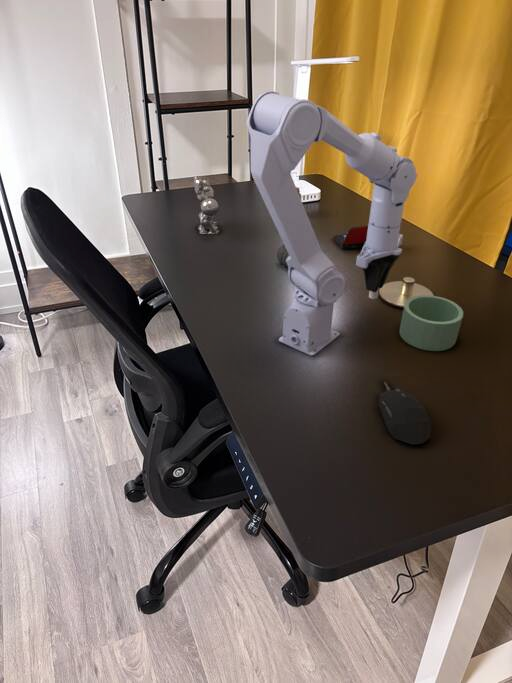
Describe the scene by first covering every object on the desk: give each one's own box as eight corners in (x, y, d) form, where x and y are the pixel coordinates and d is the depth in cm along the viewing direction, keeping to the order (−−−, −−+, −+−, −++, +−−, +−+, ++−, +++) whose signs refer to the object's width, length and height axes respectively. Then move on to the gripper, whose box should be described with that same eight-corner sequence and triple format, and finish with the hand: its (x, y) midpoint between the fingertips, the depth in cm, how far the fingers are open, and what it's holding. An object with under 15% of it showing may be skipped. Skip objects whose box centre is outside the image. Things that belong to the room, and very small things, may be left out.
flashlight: (274, 264, 124) (274, 243, 121) (293, 260, 126) (294, 239, 123) (305, 290, 112) (306, 268, 109) (325, 286, 114) (327, 264, 111)
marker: (374, 300, 100) (380, 263, 95) (366, 297, 101) (372, 261, 96) (379, 297, 101) (385, 260, 97) (371, 294, 102) (376, 257, 98)
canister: (442, 358, 92) (449, 330, 88) (389, 337, 97) (394, 310, 94) (464, 333, 98) (471, 307, 95) (413, 315, 104) (419, 289, 101)
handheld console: (373, 234, 139) (377, 208, 135) (391, 250, 131) (396, 223, 127) (331, 239, 137) (333, 212, 133) (346, 255, 128) (350, 227, 124)
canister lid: (418, 317, 103) (423, 298, 101) (368, 299, 109) (371, 281, 107) (441, 296, 111) (446, 278, 108) (393, 280, 117) (396, 262, 114)
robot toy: (223, 241, 135) (221, 186, 127) (200, 243, 134) (197, 187, 126) (215, 221, 147) (213, 169, 139) (194, 223, 146) (191, 171, 137)
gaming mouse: (402, 382, 86) (406, 363, 84) (436, 445, 74) (442, 426, 71) (366, 384, 85) (369, 366, 83) (395, 449, 73) (399, 429, 71)
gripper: (385, 240, 85) (374, 309, 93) (422, 217, 95) (409, 281, 102) (349, 229, 89) (341, 297, 97) (388, 208, 98) (378, 271, 106)
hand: (374, 288), depth 100 cm, fingers closed on marker, 2 cm apart
